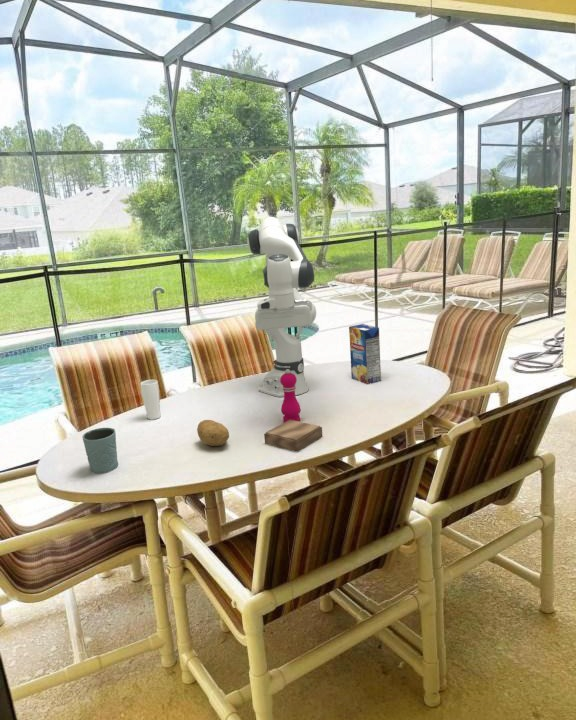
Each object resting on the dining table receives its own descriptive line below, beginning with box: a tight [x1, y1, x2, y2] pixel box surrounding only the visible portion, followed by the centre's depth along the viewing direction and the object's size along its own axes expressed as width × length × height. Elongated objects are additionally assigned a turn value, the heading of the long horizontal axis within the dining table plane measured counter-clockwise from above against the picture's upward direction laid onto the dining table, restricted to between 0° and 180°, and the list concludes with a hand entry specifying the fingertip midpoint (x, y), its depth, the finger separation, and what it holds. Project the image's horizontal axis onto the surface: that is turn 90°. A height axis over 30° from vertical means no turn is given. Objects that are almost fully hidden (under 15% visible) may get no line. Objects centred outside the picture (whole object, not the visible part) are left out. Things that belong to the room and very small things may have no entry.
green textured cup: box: [82, 427, 119, 475], centre depth 179 cm, size 10×10×12 cm
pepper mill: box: [280, 369, 301, 423], centre depth 205 cm, size 7×7×20 cm
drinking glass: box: [140, 379, 161, 421], centre depth 221 cm, size 7×7×15 cm
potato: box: [196, 419, 230, 447], centre depth 191 cm, size 10×14×8 cm
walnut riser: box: [263, 420, 323, 453], centre depth 190 cm, size 14×14×4 cm
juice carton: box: [348, 323, 382, 385], centre depth 246 cm, size 12×8×24 cm, turn 28°
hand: (285, 339), depth 200 cm, fingers open, 8 cm apart
